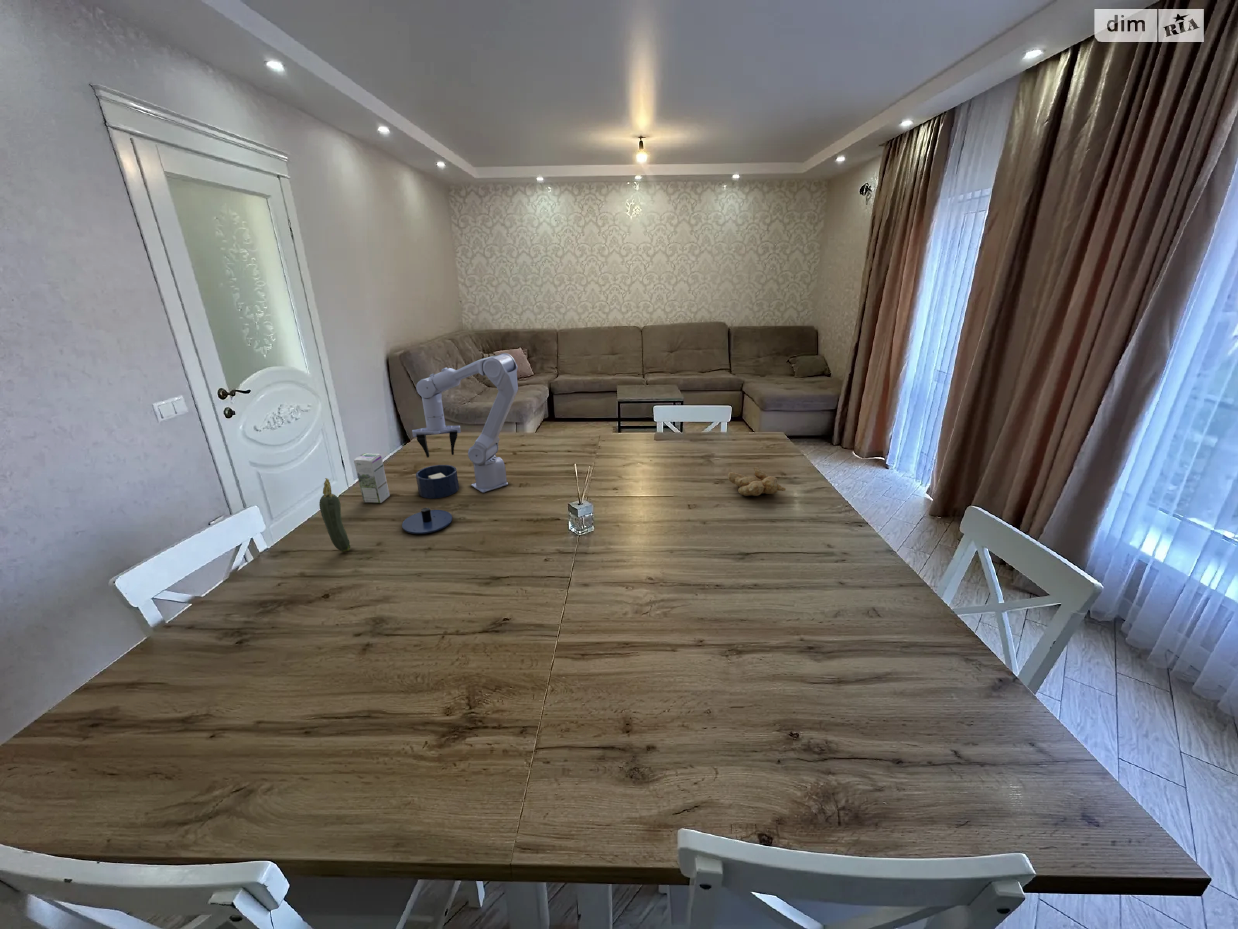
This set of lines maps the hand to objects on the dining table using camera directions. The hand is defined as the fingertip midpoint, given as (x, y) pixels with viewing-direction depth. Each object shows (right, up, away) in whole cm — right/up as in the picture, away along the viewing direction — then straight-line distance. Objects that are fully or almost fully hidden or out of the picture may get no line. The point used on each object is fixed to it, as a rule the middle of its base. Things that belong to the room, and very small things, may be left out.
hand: (440, 455), depth 159 cm
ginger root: (+102, -12, -5) cm, 103 cm away
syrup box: (-17, -14, -8) cm, 23 cm away
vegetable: (-11, -26, -37) cm, 46 cm away
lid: (+5, -19, -23) cm, 31 cm away
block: (0, -11, -2) cm, 11 cm away
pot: (0, -11, -2) cm, 12 cm away
